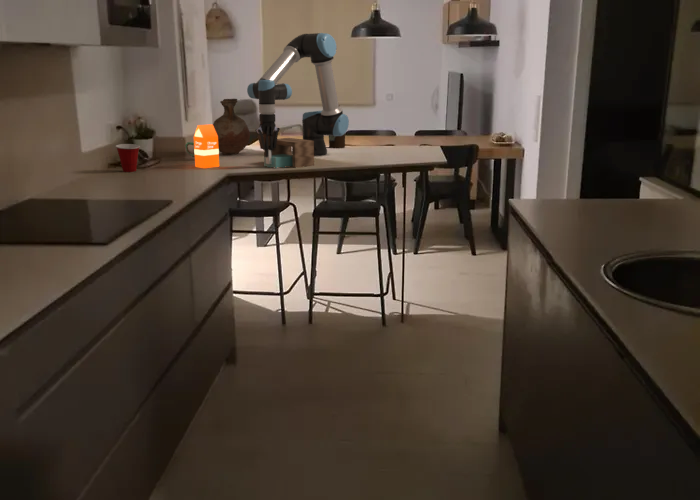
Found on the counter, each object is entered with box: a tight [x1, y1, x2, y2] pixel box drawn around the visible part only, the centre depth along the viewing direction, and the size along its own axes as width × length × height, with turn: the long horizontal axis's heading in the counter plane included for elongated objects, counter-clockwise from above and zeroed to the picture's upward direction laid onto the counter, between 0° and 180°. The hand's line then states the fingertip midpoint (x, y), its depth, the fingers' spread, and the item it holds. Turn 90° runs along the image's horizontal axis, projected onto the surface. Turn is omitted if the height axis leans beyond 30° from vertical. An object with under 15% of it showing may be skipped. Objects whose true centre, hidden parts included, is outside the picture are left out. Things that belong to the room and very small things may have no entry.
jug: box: [213, 98, 251, 156], centre depth 373 cm, size 22×22×30 cm
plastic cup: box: [115, 143, 141, 173], centre depth 315 cm, size 11×11×12 cm
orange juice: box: [193, 123, 220, 169], centre depth 328 cm, size 8×9×20 cm
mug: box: [184, 141, 195, 159], centre depth 352 cm, size 15×10×10 cm
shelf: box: [272, 137, 315, 168], centre depth 336 cm, size 12×19×12 cm, turn 44°
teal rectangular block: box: [263, 154, 293, 169], centre depth 332 cm, size 12×9×5 cm
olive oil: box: [328, 104, 346, 149], centre depth 406 cm, size 11×11×25 cm
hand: (268, 163), depth 328 cm, fingers closed
